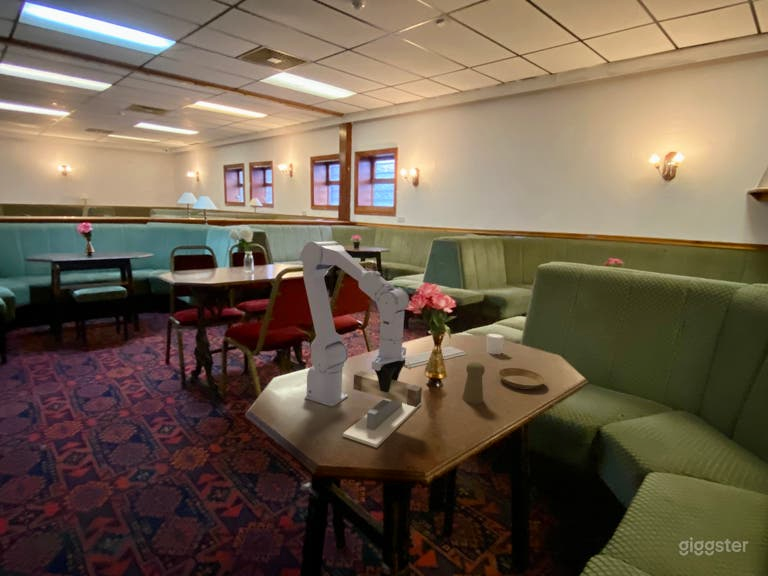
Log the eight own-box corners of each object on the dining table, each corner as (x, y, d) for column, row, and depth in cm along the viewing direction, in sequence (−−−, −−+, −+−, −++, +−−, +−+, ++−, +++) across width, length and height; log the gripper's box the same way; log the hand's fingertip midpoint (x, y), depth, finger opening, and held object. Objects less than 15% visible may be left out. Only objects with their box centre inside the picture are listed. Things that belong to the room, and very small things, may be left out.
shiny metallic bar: (421, 402, 104) (422, 386, 103) (415, 407, 101) (416, 391, 100) (359, 385, 112) (360, 370, 112) (353, 389, 110) (353, 374, 109)
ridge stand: (342, 436, 98) (343, 416, 97) (391, 396, 121) (392, 380, 120) (376, 447, 94) (377, 427, 93) (420, 404, 117) (421, 387, 116)
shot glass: (486, 354, 165) (488, 337, 163) (483, 349, 171) (485, 332, 170) (504, 355, 164) (506, 338, 163) (500, 350, 171) (501, 333, 170)
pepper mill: (486, 398, 123) (489, 363, 121) (478, 405, 118) (482, 369, 117) (467, 393, 127) (470, 358, 125) (458, 399, 122) (462, 363, 120)
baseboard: (469, 356, 162) (450, 349, 170) (470, 349, 162) (450, 343, 169) (411, 371, 144) (392, 362, 151) (411, 363, 143) (393, 355, 151)
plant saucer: (551, 384, 138) (552, 376, 138) (534, 397, 127) (535, 388, 127) (508, 371, 148) (509, 364, 147) (489, 382, 137) (490, 375, 136)
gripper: (391, 347, 96) (388, 403, 98) (417, 333, 108) (414, 383, 111) (365, 341, 99) (362, 395, 101) (393, 328, 112) (390, 377, 114)
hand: (387, 388), depth 106 cm, fingers closed on shiny metallic bar, 3 cm apart
